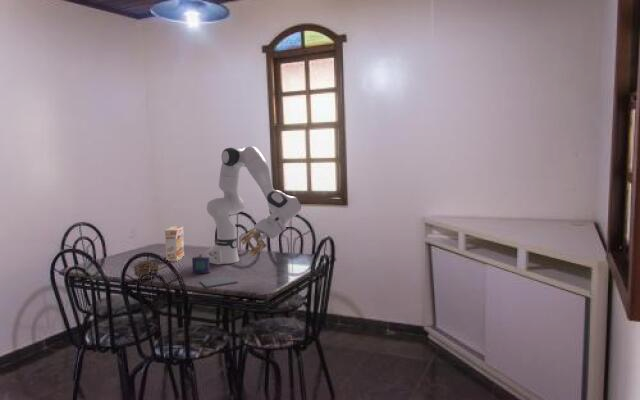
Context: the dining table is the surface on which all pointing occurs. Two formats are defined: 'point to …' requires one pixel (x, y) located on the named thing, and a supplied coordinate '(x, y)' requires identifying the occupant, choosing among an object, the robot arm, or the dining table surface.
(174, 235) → the coffeecake box
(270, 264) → the dining table surface
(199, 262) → the flask
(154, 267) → the pine cone
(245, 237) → the stool
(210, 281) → the mat
